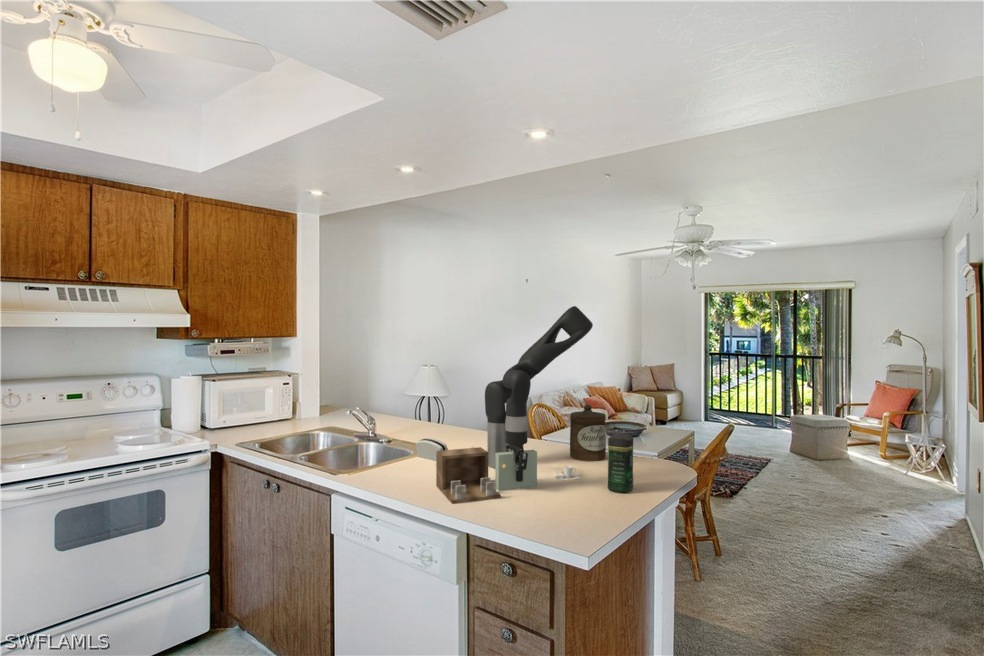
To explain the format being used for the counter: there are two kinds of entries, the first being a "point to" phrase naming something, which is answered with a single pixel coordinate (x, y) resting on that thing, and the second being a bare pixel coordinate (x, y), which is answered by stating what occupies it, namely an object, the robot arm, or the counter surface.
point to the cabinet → (464, 475)
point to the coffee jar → (620, 462)
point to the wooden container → (587, 435)
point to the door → (514, 471)
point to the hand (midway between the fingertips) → (516, 479)
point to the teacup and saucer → (567, 473)
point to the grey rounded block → (429, 448)
